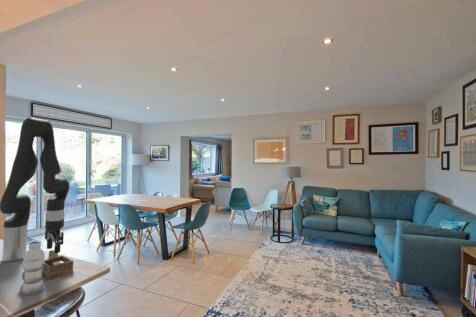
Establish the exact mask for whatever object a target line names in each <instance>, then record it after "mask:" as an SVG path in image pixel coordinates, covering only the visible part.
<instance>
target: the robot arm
mask: <svg viewBox="0 0 476 317" xmlns="http://www.w3.org/2000/svg"><path fill="white" fill-rule="evenodd" d="M35 138H41V140H42V142H43V147H42V151H41V153H40V157H39V160H38V157H37V154H36V153H35V150H34V140H35ZM39 162H40V165H41V168H42V173H43V178H42V179H43V180H42V182H43V183H42V186H43V187H42V188H43V190H44V191H45V193H47V194H50V195H52V194H54V195H53V197H50V198H48V199H47V202H46V213H45V219H44V220H45V222H44V224H45V225H44V229H45V230H44V231H45V232H44V240H46V249H47V250H52V249H53V250H54V253H58V254H59V253H60V252H61V246H62V245H64V232H63V231H62V232H61V229H64V227H65V217H66V216H65V205H66V204H65V203H66V202H65V201H66V199H67V197H68V193H69V191H70V182H69V181H68V180H67V179H66V178H56V176H57V175H59V174H61V172H62V169H61V166H60V163H59V159H58V156H57V151H56V141H55V133H54V127H53V125H52V123H51V122H50V121H49V120H47V119H40V118H36V117H35V118H34V117H27V118H25V119H24V120H23V122H22V123H21V128H20V134H19V140H18V146H17V150H16V153H15V158H14V161H13V163H12V168H11V171H10V175H9V178H8V182H7V185H6V188H5V190H4V191H3V195H2V197H1V200H0V212H1V213H2V214H3V215H11V214H13V216H11V217H10V218H8V219H6V220H5V221H3V222H4V223H3V231H2V232H3V233H2V234H3V236H2V257H1V261H2V262H6V263H9V262H16V261H19V260H20V261H21V260H23V257H24V255H25V254H26V252H27V251H28V250H27V249H28V225H29V223H28V222H29V220H30V216H31V215H30V214H31V208H32V207H31V206H32V202H31V198H30V196H29V195H28V194H19V192H20V190H21V189H22V188H23V186H25V185H26V184H27V183H28V182H29V181H31V179H32V178H33V177H34V175H35V174H36V171H37V168H38V165H39ZM53 245H54V248H53Z"/></svg>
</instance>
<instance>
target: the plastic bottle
mask: <svg viewBox="0 0 476 317" xmlns="http://www.w3.org/2000/svg"><path fill="white" fill-rule="evenodd" d="M41 244H42V242H41V241H31V242H29V243H28V246H27V249H28V250H26V254H25V255H24V257H23V258H22V260H23V261H24V267H25V269H24V270H25V277H24V281H23V283H22V285H21V286H22V287H21V292H22V294H23V295H24V296H25V295H26V296H31V295H36V294H38V293H39V292H42V290H43V289H44V278H43V275H42V267H43V260H44V259H45V252H44V250H42V248H41V246H42V245H41Z"/></svg>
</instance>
